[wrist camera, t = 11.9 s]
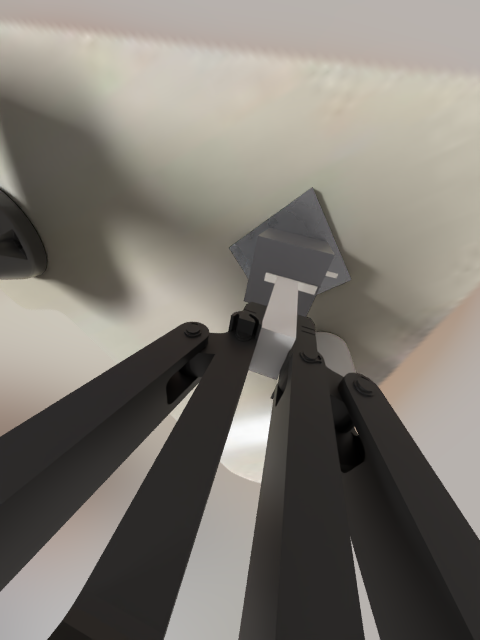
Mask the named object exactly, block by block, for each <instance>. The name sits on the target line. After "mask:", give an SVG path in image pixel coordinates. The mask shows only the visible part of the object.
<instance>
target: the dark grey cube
mask: <svg viewBox="0 0 480 640" xmlns="http://www.w3.org/2000/svg"><path fill="white" fill-rule="evenodd" d="M334 256H335V254H334V252H333V251H332V249H331V247H330V246H329V244H328V242H327V241H323V240H319V239H315V238H311V237H307V236H302V235H298V234H294V233H290V232H286V231H282V230H278V229H273V228H268V229H267V230H266V231H264V232H263V233H261V234H260V235H258V238H257V242H256V247H255V252H254V256H253V261H252V266H251V270H250V275H249V279H248V284H247V289H246V293H245V298H244V301H245V302H249V303H250V302H255V303H258V304H262V305H265V306H268V303H269V300H270V297H271V294H272V291H273V288H274V285H275V282H276V279H277V276H279V277H282V278H286V279H290V280H293V281H297V282H298V303H297V315H301V316H304V317H306V316H307V314H308V312H309V310H310V307H311V305H312V303H313V301H314V299H315V297H316V295H317V292H318V290H319V288H320V286H321V284H322V282H323V280H324V277H325V275H326V273H327V271H328V269H329V267H330V264H331V262H332V260H333V258H334Z"/></svg>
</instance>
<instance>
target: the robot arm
mask: <svg viewBox="0 0 480 640" xmlns="http://www.w3.org/2000/svg"><path fill="white" fill-rule="evenodd" d="M46 266H47V259H46V253H45V250H44V247H43V244H42V242H41V240H40V238H39V236H38V234H37V232H36V230H35V229H34V227H33V226H32V224H31V223H30V221H29V220H28V218H27V217H26V216H25V214H24V213H23V212H22V211H21V210H20V208H19V207H18V206H17V205H16V204H15V203H14V202H13V201H12V200H11V199H10V198H9V197H8V196H7V195H6V194H5V193H4V192H2V191H1V190H0V280H13V279H27V278H31V277H35V276H38V275H41V274H43V273H44V271H45V270H46ZM297 303H298V282H297V281H293V280H290V279H286V278H282V277H279V276H277V279H276V282H275V285H274V288H273V291H272V294H271V297H270V300H269V303H268V306H265V305H262V304H258V303H255V302H250V303H248V304H246V306H245V308H244V310H243V311H238V312H235V313H233V314H232V315H231V320H230V325H229V331H228V332H226V333H209V330H208V328H207V327H206V326H205V325H204V324H201V323H199V322H186V323H184V324H182V325H180V326H178V327H177V328H175V329H173V330H172V331H170V332H168V333H167V334H165V335H164V336H162V337H160V338H159V339H157V340H156V341H154V342H152V343H151V344H149V345H148V346H146V347H144V348H143V349H141V350H139V351H138V352H136V353H135V354H133V355H131V356H130V357H128V358H127V359H125V360H123V361H122V362H120V363H119V364H117V365H115V366H114V367H112V368H110V369H109V370H108V371H106V372H104V373H102V374H101V375H99V376H98V377H96V378H94V379H93V380H91V381H90V382H88V383H86V384H85V385H83V386H81V387H80V388H78V389H77V390H75V391H74V392H72V393H70V394H69V395H67V396H65V397H64V398H62V399H60V400H59V401H57V402H56V403H54V404H52V405H51V406H49V407H48V408H46V409H45V410H43V411H41V412H40V413H38V414H36V415H35V416H33V417H31V418H30V419H28V420H27V421H25V422H23V423H22V424H20V425H19V426H17V427H15V428H14V429H12V430H11V431H9V432H7V433H6V434H4V435H2V436H1V437H0V591H1V590H2V589H3V588H4V587H5V586H6V585H7V584H8V583H9V582H10V581H11V580H12V579H13V578H14V577H15V576H16V574H18V572H19V571H20V570H21V569H22V568H23V567H24V566H25V565H26V564H27V563H28V562H29V561H30V560H31V559H32V558H33V557H34V556H35V555H36V553H37V552H38V551H39V550H40V549H41V548H42V547H43V546H44V545H45V544H46V543H47V542H48V541H49V540H50V539H51V538H52V536H54V534H55V533H56V532H57V531H58V530H59V529H60V528H61V527H62V526H63V525H64V524H65V523H66V522H67V521H68V520H69V519H70V518H71V517H72V516H73V515H74V513H75V512H76V511H77V510H78V509H79V508H80V507H81V506H82V505H83V504H84V503H85V502H86V501H87V500H88V499H89V498H90V497H91V496H92V495H93V493H94V492H95V491H96V490H97V489H98V488H99V487H100V486H101V485H102V484H103V483H104V482H105V481H106V480H107V479H108V478H109V477H110V475H111V474H112V473H113V472H114V471H115V470H116V469H117V468H118V467H119V466H120V465H121V464H122V463H123V462H124V461H125V460H126V459H127V458H128V457H129V456H130V454H131V453H132V452H133V451H134V450H135V449H136V448H137V447H138V446H139V445H140V444H141V443H142V442H143V441H144V440H145V439H146V438H147V436H149V434H150V433H151V432H152V431H153V430H154V429H155V428H156V427H157V426H158V425H159V424H160V423H161V422H162V421H163V419H165V418H166V417H167V416H168V414H169V413H170V412H171V411H172V410H173V409H174V408H175V407H176V406H177V405H178V404H179V403H180V402H181V401H182V400H183V399H184V398H185V397H186V396H187V394H188V393H189V392H190V391H191V390H192V389H193V388H194V387H195V386H196V385H197V384H198V383H199V384H198V386H197V387H196V389H195V391H194V393H193V395H192V396H191V398H190V400H189V402H188V403H187V405H186V407H185V409H184V410H183V412H182V414H181V416H180V417H179V419H178V421H177V423H176V425H175V426H174V428H173V430H172V432H171V433H170V435H169V437H168V439H167V441H166V442H165V444H164V446H163V448H162V449H161V451H160V453H159V455H158V456H157V458H156V460H155V462H154V464H153V465H152V467H151V469H150V471H149V472H148V474H147V476H146V478H145V479H144V481H143V483H142V485H141V486H140V488H139V490H138V492H137V494H136V495H135V497H134V499H133V501H132V502H131V504H130V506H129V508H128V509H127V511H126V513H125V515H124V517H123V518H122V520H121V522H120V524H119V525H118V527H117V529H116V531H115V533H114V534H113V536H112V538H111V540H110V542H109V543H108V545H107V547H106V548H105V550H104V552H103V554H102V555H101V557H100V559H99V561H98V562H97V564H96V566H95V568H94V570H93V572H92V573H91V575H90V577H89V578H88V580H87V582H86V584H85V585H84V587H83V589H82V591H81V592H80V594H79V596H78V597H77V599H76V601H75V602H74V604H73V606H72V607H71V609H70V610H69V611H68V613H67V614H66V616H65V617H64V619H63V620H62V622H61V623H60V624H59V625H58V627H57V628H56V629H55V631H54V632H53V633H52V634H51V636H50V637H49V638H48V639H47V640H164V637H165V634H166V631H167V627H168V624H169V621H170V618H171V614H172V611H173V608H174V605H175V602H176V599H177V596H178V592H179V589H180V586H181V583H182V580H183V577H184V573H185V570H186V567H187V563H188V561H189V557H190V554H191V551H192V548H193V545H194V542H195V538H196V535H197V532H198V528H199V526H200V522H201V519H202V516H203V513H204V510H205V506H206V503H207V500H208V497H209V494H210V491H211V487H212V484H213V481H214V478H215V475H216V472H217V468H218V465H219V462H220V459H221V456H222V452H223V449H224V446H225V443H226V440H227V437H228V433H229V430H230V427H231V424H232V421H233V417H234V414H235V411H236V408H237V405H238V402H239V398H240V395H241V392H242V389H243V386H244V382H245V379H246V376H247V373H248V370H250V371H253V372H256V373H259V374H262V375H264V376H267V377H270V378H273V379H276V380H277V378H278V376H279V381H278V384H277V386H276V388H275V390H274V392H273V394H272V396H271V399H273V398H274V400H273V407H272V414H271V421H270V427H269V434H268V441H267V448H266V455H265V462H264V468H263V475H262V482H261V489H260V496H259V503H258V510H257V516H256V523H255V530H254V537H253V545H252V551H251V557H250V564H249V571H248V578H247V585H246V592H245V598H244V606H243V612H242V619H241V626H240V633H239V639H238V640H365V637H364V630H363V623H362V617H361V609H360V602H359V595H358V589H357V581H356V574H355V567H354V561H353V554H352V547H351V541H352V544H353V548H354V551H355V554H356V558H357V561H358V565H359V568H360V571H361V575H362V578H363V582H364V585H365V588H366V592H367V595H368V599H369V602H370V605H371V609H372V612H373V616H374V619H375V623H376V626H377V629H378V633H379V637H380V640H480V540H479V538H478V537H477V535H476V534H475V532H474V531H473V529H472V528H471V526H470V525H469V523H468V522H467V520H466V519H465V517H464V516H463V514H462V513H461V511H460V510H459V508H458V507H457V505H456V504H455V502H454V501H453V499H452V498H451V496H450V495H449V493H448V492H447V490H446V489H445V487H444V486H443V484H442V482H441V481H440V479H439V478H438V476H437V475H436V474H435V472H434V470H433V469H432V468H431V466H430V464H429V463H428V461H427V460H426V458H425V457H424V455H423V454H422V452H421V451H420V449H419V448H418V446H417V445H416V443H415V442H414V440H413V438H412V437H411V435H410V434H409V432H408V431H407V429H406V428H405V426H404V425H403V424H402V422H401V420H400V419H399V417H398V416H397V414H396V413H395V411H394V410H393V408H392V407H391V405H390V404H389V402H388V401H387V399H386V398H385V396H384V395H383V393H382V392H381V390H380V389H379V388H378V386H377V385H376V384H375V383H374V382H373V381H371V380H370V379H369V378H367V377H365V376H363V375H362V374H358V373H348V374H346V375H345V376H344V377H343V376H341V375H340V374H338V373H336V372H334V371H333V370H331V369H329V368H328V367H327V366H326V365H325V360H324V358H323V356H322V355H321V354H320V353H319V352H318V351H317V342H316V336H315V335H316V332H315V324H314V323H313V321H312V320H311V318H308V317H304V316H301V315H297ZM354 427H355V428H356V430H357V432H358V434H359V435H358V434H357V432H356V431H355V429H354ZM350 537H351V540H350Z"/></svg>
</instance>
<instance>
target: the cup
mask: <svg viewBox="0 0 480 640" xmlns="http://www.w3.org/2000/svg"><path fill="white" fill-rule="evenodd" d="M315 336H316V342H317V351H318V352H319V353H320V354H321V355H322V356H323V358H324V360H325V365H326V366H327V367H328V368H329V369H331V370H333V371H334V372H336V373H338V374H340V375H341V376H343V377H344V376H345V375H346V374H348V373H357V372H356V369H355V366H354V363H353V360H352V357H351V354H350V351H349V349H348V347H347V345H346V343H345V342H344V341H343V339H342V338H340V337H338V336H337V335H335V334H331V333H328V332H316V335H315Z"/></svg>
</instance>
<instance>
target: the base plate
mask: <svg viewBox="0 0 480 640" xmlns="http://www.w3.org/2000/svg"><path fill="white" fill-rule="evenodd" d="M268 228H273V229H278V230H282V231H286V232H290V233H294V234H298V235H302V236H307V237H311V238H315V239H319V240H323V241H327V242H328V244H329V246H330V247H331V249H332V251H333V252H334V254H335V256H334V258H333V260H332V262H331V264H330V267H329V269H328V271H327V273H326V275H325V277H324V280H323V282H322V284H321V286H320V288H319V290H318V292H317V294H319V293H322V292H324V291H326V290H329V289H331V288H333V287H336V286H338V285H341V284H343V283H345V282H348V281H350V280H351V277H350V275H349V272H348V270H347V268H346V265H345V263H344V261H343V258H342V256H341V253H340V251H339V249H338V246H337V244H336V242H335V239H334V237H333V234H332V232H331V230H330V227H329V225H328V223H327V220H326V218H325V215H324V213H323V211H322V208H321V206H320V204H319V201H318V199H317V196H316V194H315V192H314V189H313V187H312V188H310V189H309V190H308V191H306V192H305V193H304V194H302V195H301V196H299V197H298V198H297V199H295V200H294V201H293V202H291V203H290V204H288V205H287V206H286V207H284V208H283V209H281V210H280V211H279V212H277V213H276V214H275V215H273V216H272V217H270V218H269V219H268V220H266V221H265V222H264V223H262V224H261V225H259V226H258V227H257V228H255V229H254V230H253V231H251V232H250V233H248V234H247V235H246V236H244V237H243V238H241V239H240V240H239V241H237V242H236V243H235V244H233V245H232V246H230V247H229V249H230V251H231V252H232V254H233V255H234V257H235V258H236V260H237V262H238V263H239V265H240V266H241V268H242V270H243V271H244V273H245V274H246V276H247V278H248V279H249V275H250V270H251V266H252V261H253V256H254V252H255V247H256V242H257V238H258V235H260V234H261V233H263V232H264V231H266V230H267V229H268Z"/></svg>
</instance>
